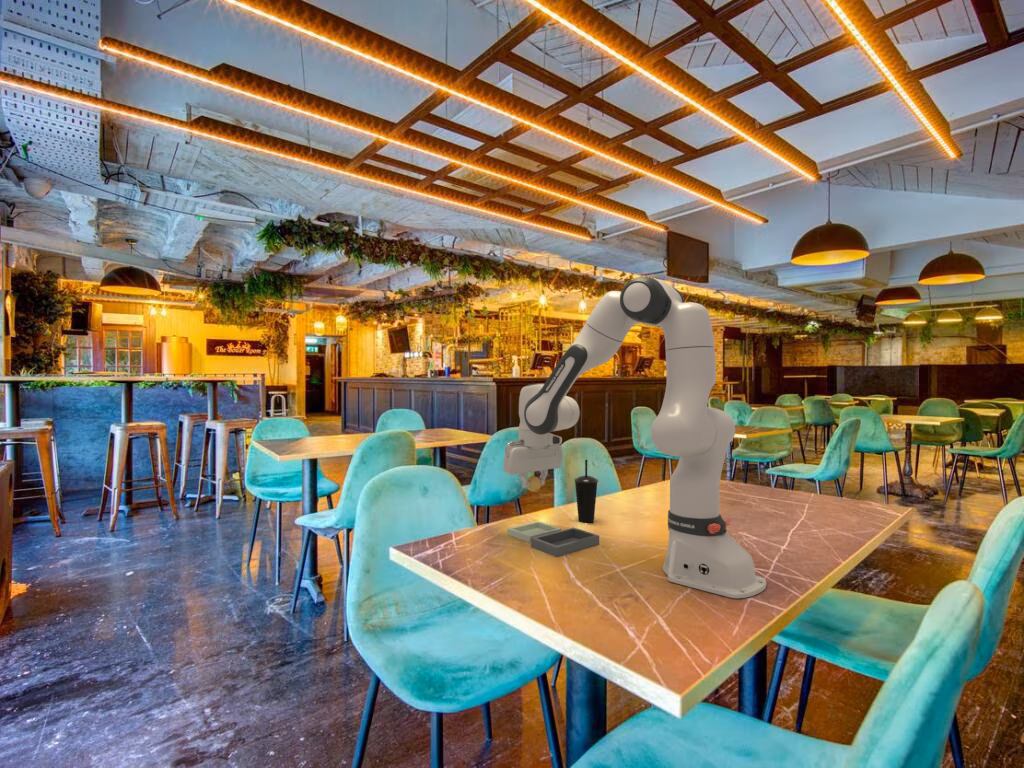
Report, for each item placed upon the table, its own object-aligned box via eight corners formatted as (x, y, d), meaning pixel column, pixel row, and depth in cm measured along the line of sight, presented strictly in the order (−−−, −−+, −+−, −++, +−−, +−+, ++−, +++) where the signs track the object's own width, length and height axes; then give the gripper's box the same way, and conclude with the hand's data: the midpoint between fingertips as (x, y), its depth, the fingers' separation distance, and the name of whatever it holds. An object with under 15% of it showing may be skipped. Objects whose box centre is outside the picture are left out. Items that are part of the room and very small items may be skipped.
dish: (599, 546, 141) (599, 535, 140) (556, 559, 131) (556, 547, 131) (573, 537, 148) (573, 527, 148) (531, 549, 138) (531, 538, 138)
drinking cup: (600, 525, 161) (599, 461, 161) (575, 525, 161) (575, 461, 161) (596, 518, 168) (596, 457, 168) (573, 518, 169) (573, 457, 168)
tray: (561, 536, 149) (561, 528, 149) (529, 544, 142) (529, 536, 142) (538, 528, 157) (538, 521, 157) (507, 536, 150) (507, 528, 150)
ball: (544, 491, 149) (544, 476, 149) (532, 493, 147) (532, 478, 147) (534, 489, 153) (534, 474, 153) (522, 491, 150) (522, 476, 150)
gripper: (512, 442, 141) (512, 493, 141) (566, 437, 153) (565, 483, 153) (498, 440, 145) (498, 489, 146) (551, 435, 158) (551, 480, 158)
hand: (533, 486), depth 150 cm, fingers closed on ball, 4 cm apart
